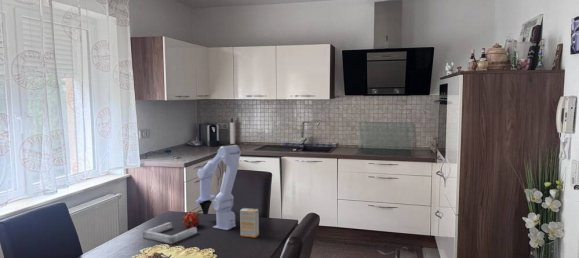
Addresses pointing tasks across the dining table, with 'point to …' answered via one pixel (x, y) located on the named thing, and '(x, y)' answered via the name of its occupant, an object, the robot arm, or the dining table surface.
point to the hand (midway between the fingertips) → (205, 214)
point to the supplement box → (249, 222)
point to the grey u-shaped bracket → (156, 235)
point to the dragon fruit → (191, 219)
